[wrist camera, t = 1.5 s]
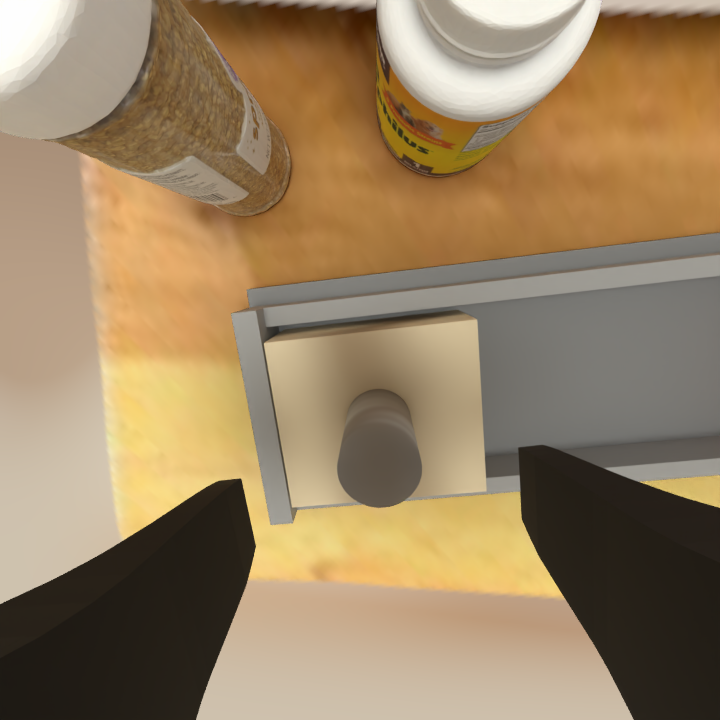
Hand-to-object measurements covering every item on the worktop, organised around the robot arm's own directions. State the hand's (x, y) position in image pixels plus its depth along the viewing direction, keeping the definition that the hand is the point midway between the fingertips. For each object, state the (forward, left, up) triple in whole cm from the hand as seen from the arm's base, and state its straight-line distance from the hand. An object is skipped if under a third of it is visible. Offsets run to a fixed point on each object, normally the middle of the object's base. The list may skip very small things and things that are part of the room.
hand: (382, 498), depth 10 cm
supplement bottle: (-4, -12, -10) cm, 16 cm away
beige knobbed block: (0, 0, -9) cm, 9 cm away
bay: (-6, 0, -10) cm, 12 cm away
